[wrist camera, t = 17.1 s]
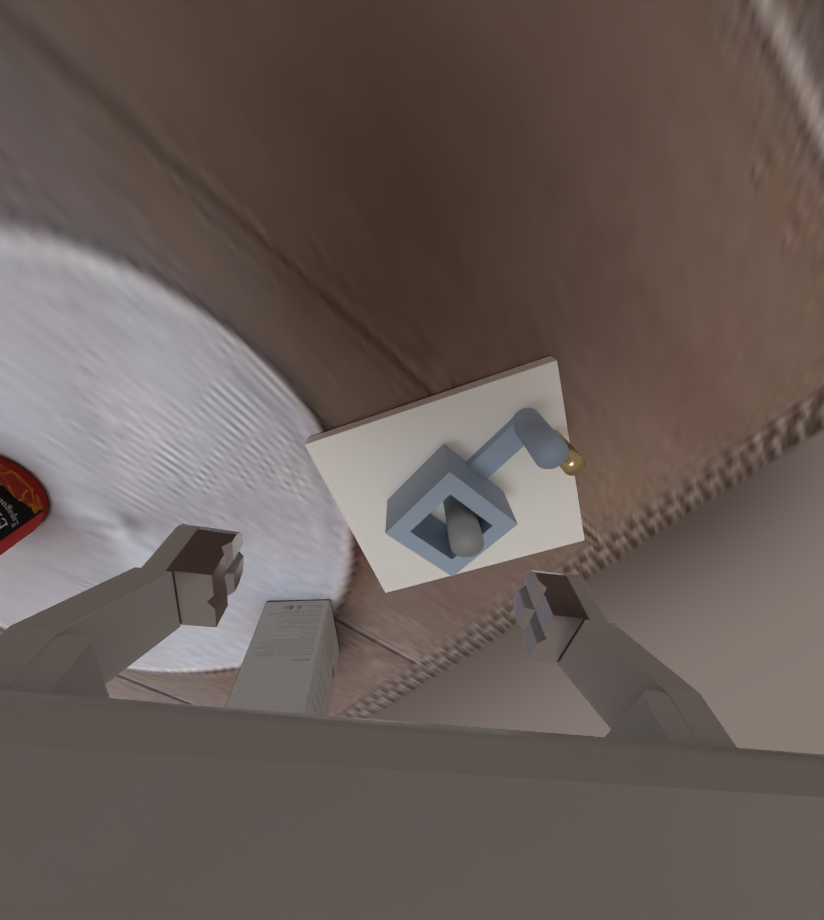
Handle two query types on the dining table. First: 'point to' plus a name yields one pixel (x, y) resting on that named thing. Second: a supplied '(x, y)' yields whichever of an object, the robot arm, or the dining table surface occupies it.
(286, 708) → the small box
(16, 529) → the canned food
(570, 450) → the dowel
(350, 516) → the post board
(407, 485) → the grey socket with handle
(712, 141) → the dining table surface
